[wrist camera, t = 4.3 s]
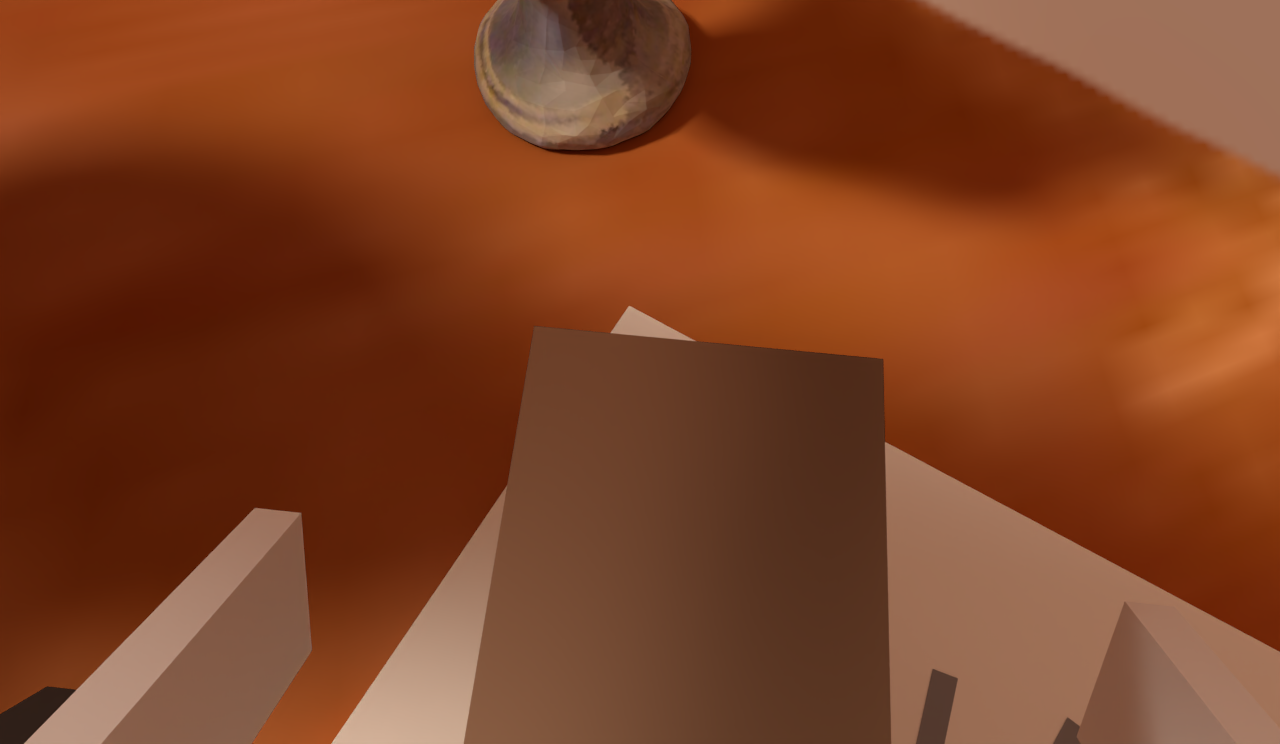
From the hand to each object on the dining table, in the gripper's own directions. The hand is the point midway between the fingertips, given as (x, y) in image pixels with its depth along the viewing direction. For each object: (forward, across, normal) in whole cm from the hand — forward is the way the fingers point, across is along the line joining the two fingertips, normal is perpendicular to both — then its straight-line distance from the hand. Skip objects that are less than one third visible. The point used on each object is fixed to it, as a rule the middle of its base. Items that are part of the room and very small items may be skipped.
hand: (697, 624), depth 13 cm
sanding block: (+4, 0, -5) cm, 7 cm away
